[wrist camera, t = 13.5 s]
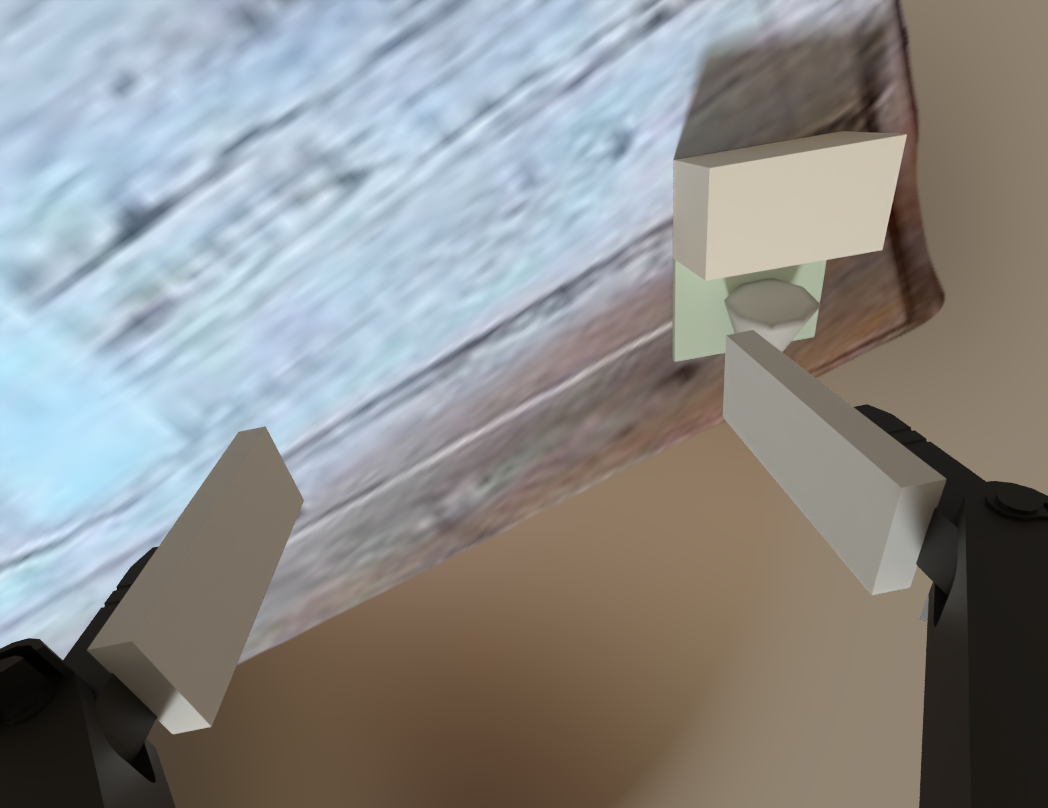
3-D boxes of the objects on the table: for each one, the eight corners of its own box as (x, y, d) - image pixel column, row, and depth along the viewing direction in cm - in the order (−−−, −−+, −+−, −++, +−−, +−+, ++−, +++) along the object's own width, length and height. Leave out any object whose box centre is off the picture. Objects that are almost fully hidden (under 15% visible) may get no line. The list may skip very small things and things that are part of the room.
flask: (709, 296, 45) (699, 377, 52) (771, 337, 41) (751, 420, 48) (772, 267, 47) (754, 349, 54) (839, 303, 42) (810, 388, 49)
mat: (673, 258, 45) (675, 260, 45) (826, 231, 45) (830, 233, 45) (672, 359, 50) (674, 361, 50) (810, 334, 50) (814, 336, 50)
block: (673, 159, 41) (709, 168, 35) (842, 131, 41) (906, 134, 35) (673, 258, 45) (705, 280, 39) (826, 231, 45) (882, 250, 39)
